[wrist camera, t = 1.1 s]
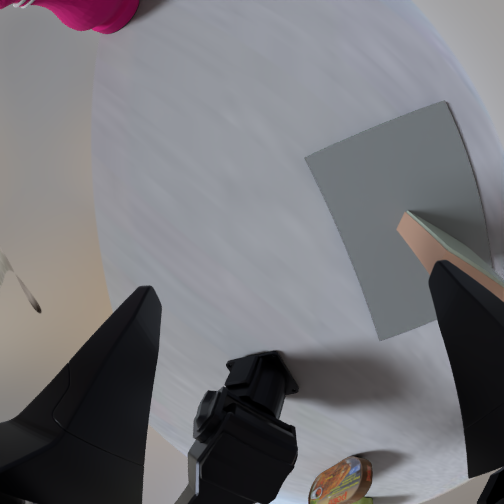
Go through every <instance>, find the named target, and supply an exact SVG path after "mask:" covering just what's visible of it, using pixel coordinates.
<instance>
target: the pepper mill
mask: <svg viewBox="0 0 504 504" xmlns="http://www.w3.org/2000/svg"><path fill="white" fill-rule="evenodd" d="M12 3H13V6H14V7H21V8H27V7H28V6H29V5H38V6H42V7H46V8H47V9H49V10H51V11H52V12H53V13H54V14H55V15H56V16H57V17H58V18H59V19H60V20H61V21H62V23H64V24H65V25H67V26H68V27H70V28H72V29H75V30H77V31H85V30H89V29H92V30H94V31H97V32H100V33H103V34H110V33H113V32H116V31H118V30H119V29H121V28H122V27H123V26H125V25H126V24H127V23H128V22H129V21H130V19H131V18H132V17H133V15H134V14H135V12H136V10H137V8H138V5H139V0H0V9H2V8H4V7H6V6H8V5H10V4H12Z"/></svg>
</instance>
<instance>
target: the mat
mask: <svg viewBox="0 0 504 504" xmlns="http://www.w3.org/2000/svg"><path fill="white" fill-rule="evenodd" d="M304 159H305V160H306V162H307V164H308V166H309V168H310V170H311V172H312V174H313V177H314V179H315V181H316V183H317V185H318V187H319V189H320V191H321V193H322V195H323V197H324V200H325V202H326V204H327V206H328V208H329V211H330V213H331V215H332V217H333V219H334V222H335V224H336V226H337V229H338V231H339V233H340V236H341V238H342V240H343V243H344V245H345V248H346V250H347V252H348V255H349V257H350V260H351V262H352V265H353V267H354V270H355V273H356V275H357V278H358V280H359V283H360V286H361V288H362V291H363V294H364V297H365V299H366V302H367V305H368V308H369V311H370V314H371V317H372V319H373V322H374V325H375V328H376V332H377V335H378V338H379V341H382V340H385V339H388V338H391V337H393V336H396V335H399V334H402V333H404V332H407V331H410V330H412V329H415V328H417V327H420V326H422V325H425V324H427V323H430V322H432V321H434V320H437V316H436V312H435V308H434V304H433V300H432V296H431V293H430V289H429V285H428V280H429V277H430V275H429V273H428V272H427V270H426V269H425V267H424V266H423V264H422V263H421V262H420V260H419V259H418V257H417V256H416V255H415V253H414V252H413V251H412V249H411V248H410V247H409V245H408V244H407V243H406V241H405V240H404V239H403V237H402V236H401V235H400V233H399V232H398V231H397V230H396V229H397V227H398V225H399V223H400V221H401V219H402V217H403V215H404V212H407V210H408V211H410V212H411V213H413V214H415V215H417V216H418V217H420V218H422V219H424V220H425V221H427V222H429V223H431V224H432V225H434V226H436V227H437V228H439V229H441V230H442V231H444V232H445V233H447V234H449V235H450V236H452V237H453V238H455V239H457V240H458V241H460V242H461V243H463V244H464V245H466V246H467V247H468V248H470V249H471V250H472V251H473V252H474V253H475V254H476V255H478V256H479V257H480V258H481V259H482V260H483V261H484V262H486V263H487V264H488V265H489V266H490V267H491V268H492V262H491V254H490V247H489V240H488V234H487V229H486V223H485V218H484V214H483V209H482V205H481V200H480V196H479V193H478V189H477V185H476V182H475V178H474V175H473V171H472V168H471V165H470V162H469V159H468V156H467V153H466V150H465V147H464V145H463V142H462V139H461V137H460V134H459V132H458V129H457V127H456V124H455V122H454V120H453V117H452V115H451V113H450V111H449V108H448V106H447V104H446V102H445V100H444V101H441V102H438V103H436V104H433V105H430V106H427V107H424V108H422V109H419V110H416V111H414V112H411V113H408V114H406V115H403V116H400V117H398V118H395V119H393V120H390V121H388V122H385V123H383V124H380V125H378V126H375V127H373V128H370V129H368V130H366V131H363V132H361V133H359V134H356V135H354V136H351V137H349V138H347V139H345V140H342V141H340V142H338V143H335V144H333V145H331V146H329V147H327V148H324V149H322V150H320V151H318V152H316V153H313V154H311V155H309V156H307V157H305V158H304Z"/></svg>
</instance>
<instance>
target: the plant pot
mask: <svg viewBox="0 0 504 504" xmlns="http://www.w3.org/2000/svg"><path fill="white" fill-rule="evenodd" d="M352 504H373V499H372V498H365V497H363V498H362V499H360V500H359V501H357V502H354V503H352Z"/></svg>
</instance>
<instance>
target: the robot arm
mask: <svg viewBox="0 0 504 504" xmlns="http://www.w3.org/2000/svg"><path fill="white" fill-rule="evenodd" d="M428 285H429V289H430V293H431V296H432V300H433V304H434V308H435V312H436V316H437V320H438V324H439V327H440V331H441V334H442V337H443V340H444V344H445V347H446V350H447V354H448V357H449V361H450V365H451V369H452V373H453V377H454V381H455V385H456V390H457V394H458V399H459V404H460V409H461V415H462V421H463V427H464V435H465V443H466V453H467V465H468V477H469V479H470V478H473V477H476V476H479V475H482V474H485V473H487V472H490V471H493V470H496V469H498V468H501V467H502V468H501V469H500V470H498V471H496V472H495V473H493V474H492V475H491V476H490V478H489V480H488V482H487V484H486V486H485V488H484V490H483V492H482V494H481V495H480V497H479V499H478V501H477V504H504V467H503V466H504V302H503V301H502V300H501V299H500V298H498V297H497V296H496V295H494V294H493V293H492V292H491V291H489V290H488V289H487V288H485V287H484V286H483V285H481V284H480V283H479V282H477V281H476V280H475V279H473V278H472V277H471V276H469V275H468V274H467V273H465V272H464V271H462V270H461V269H460V268H458V267H457V266H455V265H454V264H452V263H451V262H449V261H448V260H438V261H436V262H435V264H434V266H433V269H432V272H431V274H430V277H429V280H428ZM161 313H162V306H161V302H160V300H159V298H158V296H157V294H156V292H155V290H154V288H153V287H152V286H140V287H138V288H137V289H136V290H135V291H134V292H133V293H132V294H131V295H130V296H129V297H128V298H127V299H126V300H125V301H124V302H123V303H122V304H121V305H120V306H119V307H118V309H117V310H116V311H115V312H114V313H113V314H112V315H111V316H110V317H109V318H108V319H107V320H106V321H105V322H104V323H103V324H102V325H101V327H100V328H99V329H98V330H97V331H96V332H95V333H94V334H93V335H92V336H91V337H90V338H89V340H88V341H87V342H86V343H85V344H84V345H83V346H82V347H81V348H80V349H79V351H78V352H77V353H76V354H75V355H74V356H73V357H72V358H71V360H70V361H69V363H67V364H66V365H65V366H64V368H63V369H62V370H61V371H60V372H59V373H58V374H57V375H56V377H55V378H54V379H53V380H52V381H51V382H50V383H49V384H48V385H47V386H46V387H45V388H44V389H43V391H42V392H41V393H40V394H39V395H38V396H37V397H36V398H35V399H34V400H33V401H32V402H31V403H30V404H29V405H28V406H27V407H26V408H25V409H24V410H23V411H22V412H21V413H20V414H19V415H18V416H16V417H15V418H13V419H11V420H9V421H6V422H1V423H0V504H142V491H143V475H144V460H145V449H146V439H147V429H148V421H149V413H150V405H151V398H152V391H153V384H154V377H155V371H156V365H157V359H158V352H159V339H160V325H161ZM272 355H274V356H272ZM226 367H227V368H228V369H229V371H230V374H229V376H228V378H227V380H226V382H225V386H226V387H224V386H223V387H222V388H221V389H220V390H219V391H209V390H208V391H207V392H206V393H205V395H204V397H203V399H202V401H201V402H200V405H199V407H198V411H197V415H196V417H195V418H194V429H193V438H195V439H196V441H195V442H194V444H193V445H192V447H191V449H190V450H189V452H188V478H189V484H188V486H187V487H186V489H185V490H184V491H183V493H182V494H181V496H180V497H179V498H178V500H177V501H176V502H175V504H255V503H260V504H269V503H270V502H271V501H273V500H274V499H275V498H276V496H277V494H278V492H279V490H280V488H281V486H282V484H283V482H284V481H285V479H286V477H287V476H288V475H289V473H290V472H291V471H292V470H293V469H294V464H295V462H296V460H297V456H298V447H297V440H296V430H295V427H294V426H292V425H288V424H286V423H284V422H283V421H281V420H279V418H280V414H281V411H282V407H283V403H284V399H285V395H289V394H294V393H297V392H298V390H299V387H298V386H297V384H296V382H295V381H294V379H293V377H292V376H291V374H290V372H289V371H288V369H287V367H286V365H285V364H284V362H283V360H282V359H281V357H280V355H279V354H278V352H276V351H271V352H267V353H263V354H259V355H252V356H248V357H243V358H238V359H235V360H231V361H228V362H227V364H226ZM294 389H295V390H294Z"/></svg>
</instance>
